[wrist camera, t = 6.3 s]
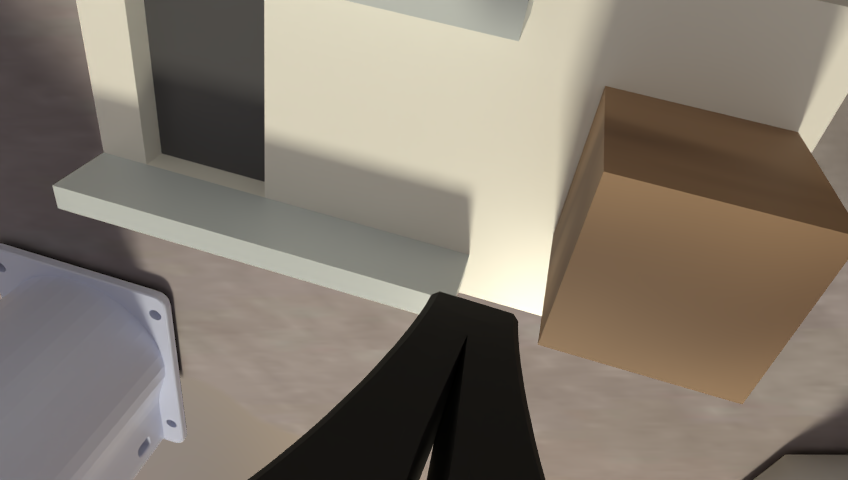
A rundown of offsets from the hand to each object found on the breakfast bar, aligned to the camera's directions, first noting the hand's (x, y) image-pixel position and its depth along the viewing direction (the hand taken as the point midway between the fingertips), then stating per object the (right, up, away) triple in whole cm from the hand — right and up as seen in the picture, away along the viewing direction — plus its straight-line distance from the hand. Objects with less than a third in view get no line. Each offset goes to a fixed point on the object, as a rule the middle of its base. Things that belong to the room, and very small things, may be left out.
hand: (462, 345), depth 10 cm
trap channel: (-1, +5, +7) cm, 9 cm away
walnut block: (+5, +3, +5) cm, 8 cm away
